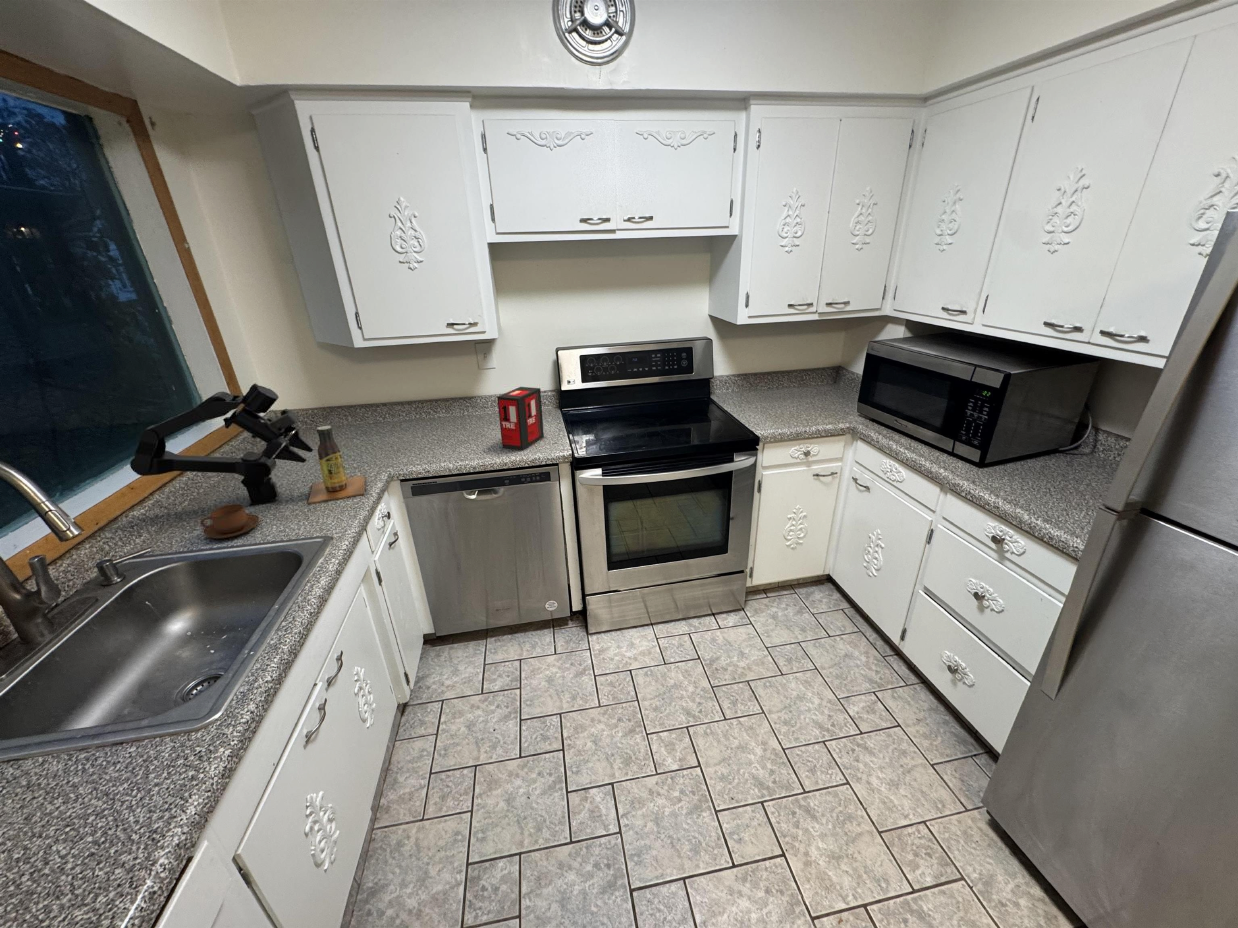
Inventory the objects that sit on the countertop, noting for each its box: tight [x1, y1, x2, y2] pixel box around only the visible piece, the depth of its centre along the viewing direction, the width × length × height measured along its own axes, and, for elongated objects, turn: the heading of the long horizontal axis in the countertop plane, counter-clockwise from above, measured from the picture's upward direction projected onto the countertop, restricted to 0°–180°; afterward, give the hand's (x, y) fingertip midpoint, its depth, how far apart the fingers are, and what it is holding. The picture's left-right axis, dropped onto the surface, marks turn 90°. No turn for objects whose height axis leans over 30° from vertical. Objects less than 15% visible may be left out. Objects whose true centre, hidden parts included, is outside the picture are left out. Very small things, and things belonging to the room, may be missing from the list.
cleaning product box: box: [496, 386, 545, 451], centre depth 194 cm, size 16×9×20 cm, turn 160°
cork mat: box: [307, 475, 366, 505], centre depth 158 cm, size 15×15×1 cm
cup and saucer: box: [199, 503, 260, 539], centre depth 133 cm, size 12×12×6 cm
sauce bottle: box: [316, 425, 347, 492], centre depth 154 cm, size 6×6×20 cm
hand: (308, 456), depth 151 cm, fingers open, 9 cm apart
